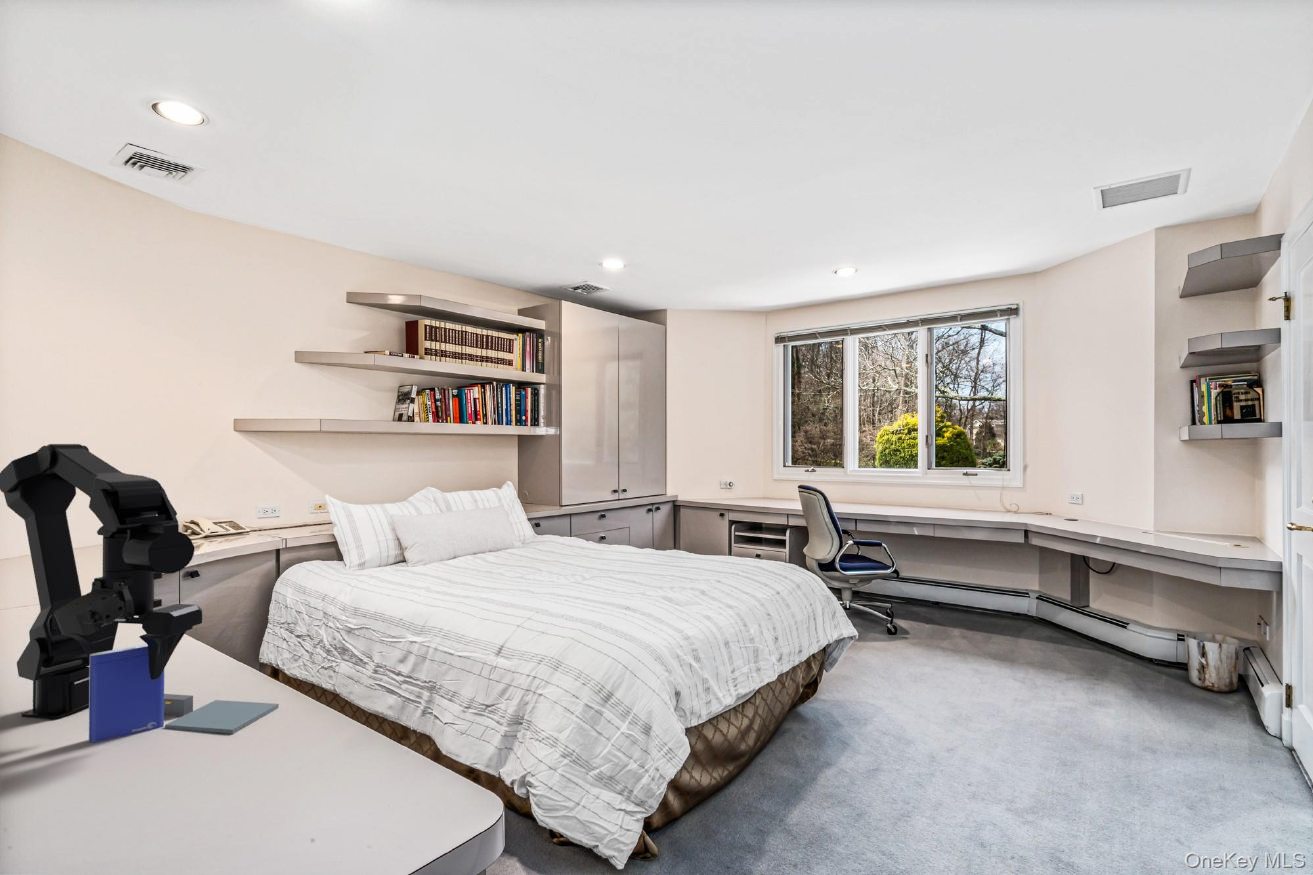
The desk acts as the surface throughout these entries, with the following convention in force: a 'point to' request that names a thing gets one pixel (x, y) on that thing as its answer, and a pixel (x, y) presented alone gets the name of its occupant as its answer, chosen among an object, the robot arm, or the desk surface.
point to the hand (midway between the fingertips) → (128, 677)
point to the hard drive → (123, 694)
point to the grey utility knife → (177, 704)
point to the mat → (223, 716)
